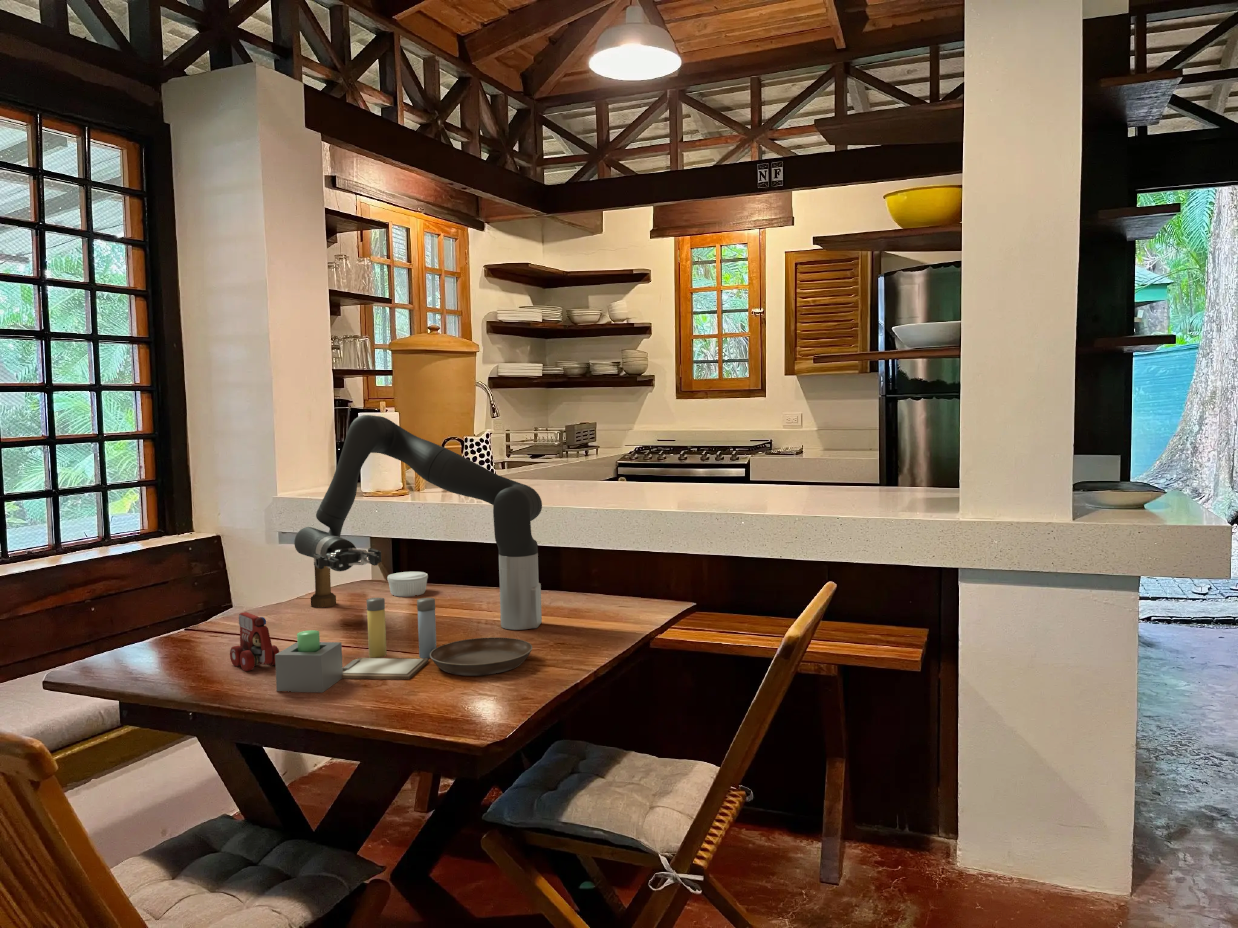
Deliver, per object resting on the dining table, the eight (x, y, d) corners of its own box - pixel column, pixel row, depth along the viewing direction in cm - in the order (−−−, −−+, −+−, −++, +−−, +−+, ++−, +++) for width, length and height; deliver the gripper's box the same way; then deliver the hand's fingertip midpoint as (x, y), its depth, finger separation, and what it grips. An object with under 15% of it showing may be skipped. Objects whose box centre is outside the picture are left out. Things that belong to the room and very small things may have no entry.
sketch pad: (428, 661, 187) (428, 656, 187) (408, 679, 175) (408, 673, 175) (358, 660, 188) (358, 655, 188) (334, 678, 177) (334, 672, 177)
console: (342, 677, 177) (341, 642, 176) (322, 692, 168) (321, 655, 167) (299, 676, 178) (297, 641, 177) (276, 691, 169) (274, 654, 169)
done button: (323, 650, 174) (322, 630, 174) (314, 656, 170) (313, 635, 170) (303, 650, 175) (303, 630, 174) (294, 656, 171) (293, 635, 170)
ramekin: (418, 598, 248) (417, 579, 247) (380, 597, 250) (379, 578, 250) (434, 589, 259) (434, 571, 258) (398, 589, 261) (397, 570, 261)
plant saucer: (413, 663, 186) (412, 647, 186) (500, 645, 199) (500, 630, 199) (460, 687, 170) (459, 670, 170) (552, 666, 183) (551, 650, 182)
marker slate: (439, 653, 193) (437, 597, 192) (433, 658, 189) (431, 601, 188) (422, 653, 193) (420, 597, 192) (416, 658, 189) (414, 601, 188)
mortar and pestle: (341, 604, 242) (338, 537, 240) (318, 608, 237) (315, 540, 236) (328, 601, 246) (325, 535, 245) (306, 605, 241) (303, 538, 240)
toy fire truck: (251, 675, 180) (249, 623, 179) (226, 663, 189) (224, 613, 188) (285, 667, 185) (283, 617, 184) (259, 655, 194) (257, 608, 193)
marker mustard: (389, 652, 194) (387, 597, 193) (382, 657, 190) (380, 601, 189) (372, 652, 194) (370, 597, 193) (365, 657, 191) (363, 601, 190)
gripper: (304, 539, 209) (324, 549, 196) (365, 534, 217) (388, 543, 204) (305, 571, 210) (325, 583, 197) (366, 565, 218) (389, 575, 204)
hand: (357, 562), depth 200 cm, fingers open, 8 cm apart
